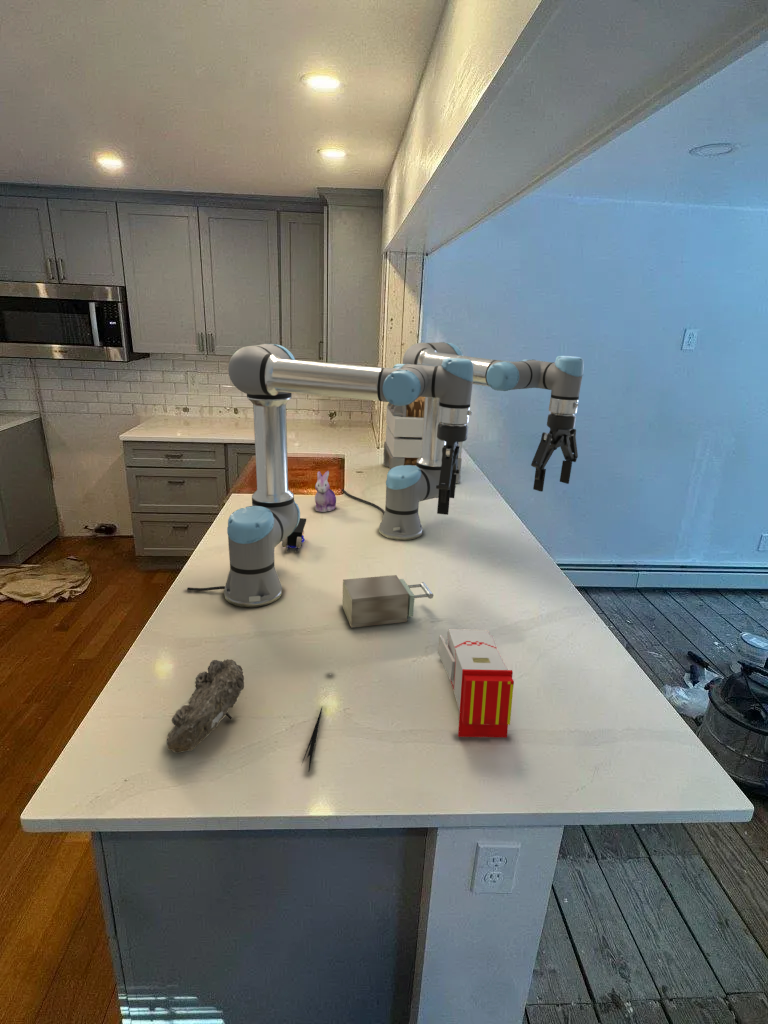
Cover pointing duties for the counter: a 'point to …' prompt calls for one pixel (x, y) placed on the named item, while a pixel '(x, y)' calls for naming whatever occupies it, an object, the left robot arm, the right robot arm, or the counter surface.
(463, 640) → the toy
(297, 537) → the figurine character
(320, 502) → the figurine
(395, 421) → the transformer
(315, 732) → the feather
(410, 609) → the drawer
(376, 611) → the cabinet
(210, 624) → the counter surface
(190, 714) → the fossil
